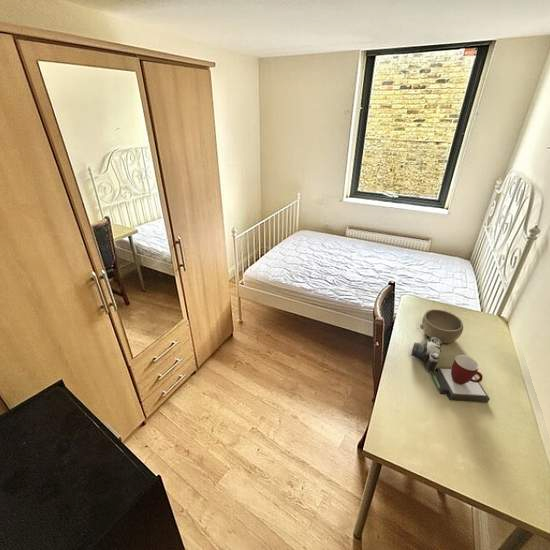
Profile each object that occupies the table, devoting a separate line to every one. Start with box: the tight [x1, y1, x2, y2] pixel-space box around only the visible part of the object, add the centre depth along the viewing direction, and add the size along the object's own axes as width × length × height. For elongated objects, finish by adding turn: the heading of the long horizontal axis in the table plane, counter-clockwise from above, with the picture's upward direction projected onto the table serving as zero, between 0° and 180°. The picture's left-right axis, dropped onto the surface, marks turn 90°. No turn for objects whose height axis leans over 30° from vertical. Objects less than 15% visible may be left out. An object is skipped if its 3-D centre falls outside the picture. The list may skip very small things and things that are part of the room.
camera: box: [411, 337, 443, 374], centre depth 127 cm, size 16×10×10 cm, turn 153°
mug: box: [450, 354, 484, 385], centre depth 112 cm, size 10×8×10 cm
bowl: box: [419, 308, 464, 344], centre depth 141 cm, size 17×18×10 cm
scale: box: [431, 367, 491, 404], centre depth 116 cm, size 14×17×3 cm
